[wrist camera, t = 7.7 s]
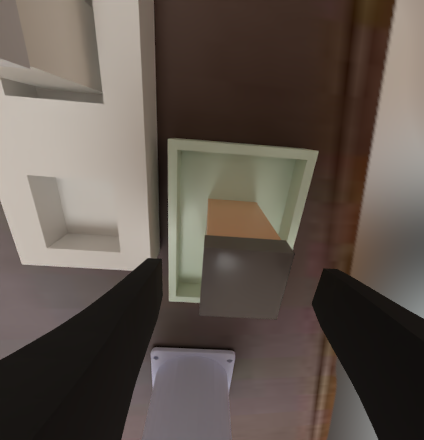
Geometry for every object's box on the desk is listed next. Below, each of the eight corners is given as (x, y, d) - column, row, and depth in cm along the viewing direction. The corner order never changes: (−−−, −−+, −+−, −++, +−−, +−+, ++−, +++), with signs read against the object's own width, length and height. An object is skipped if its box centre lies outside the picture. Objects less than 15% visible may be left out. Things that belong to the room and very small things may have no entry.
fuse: (110, 97, 11) (-1, 58, 5) (46, 91, 11) (-143, 44, 5) (102, 14, 10) (-60, -162, 4) (28, 7, 10) (-253, -187, 4)
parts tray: (270, 288, 17) (277, 306, 15) (173, 282, 17) (168, 301, 15) (303, 148, 13) (318, 151, 11) (173, 137, 13) (167, 138, 11)
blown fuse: (250, 245, 15) (276, 319, 9) (203, 242, 15) (199, 315, 9) (258, 200, 14) (295, 253, 8) (206, 197, 13) (203, 247, 8)
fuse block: (160, 250, 16) (151, 271, 13) (51, 243, 15) (22, 264, 13) (153, -24, 10) (134, -74, 7) (-23, -43, 9) (-102, -102, 7)
